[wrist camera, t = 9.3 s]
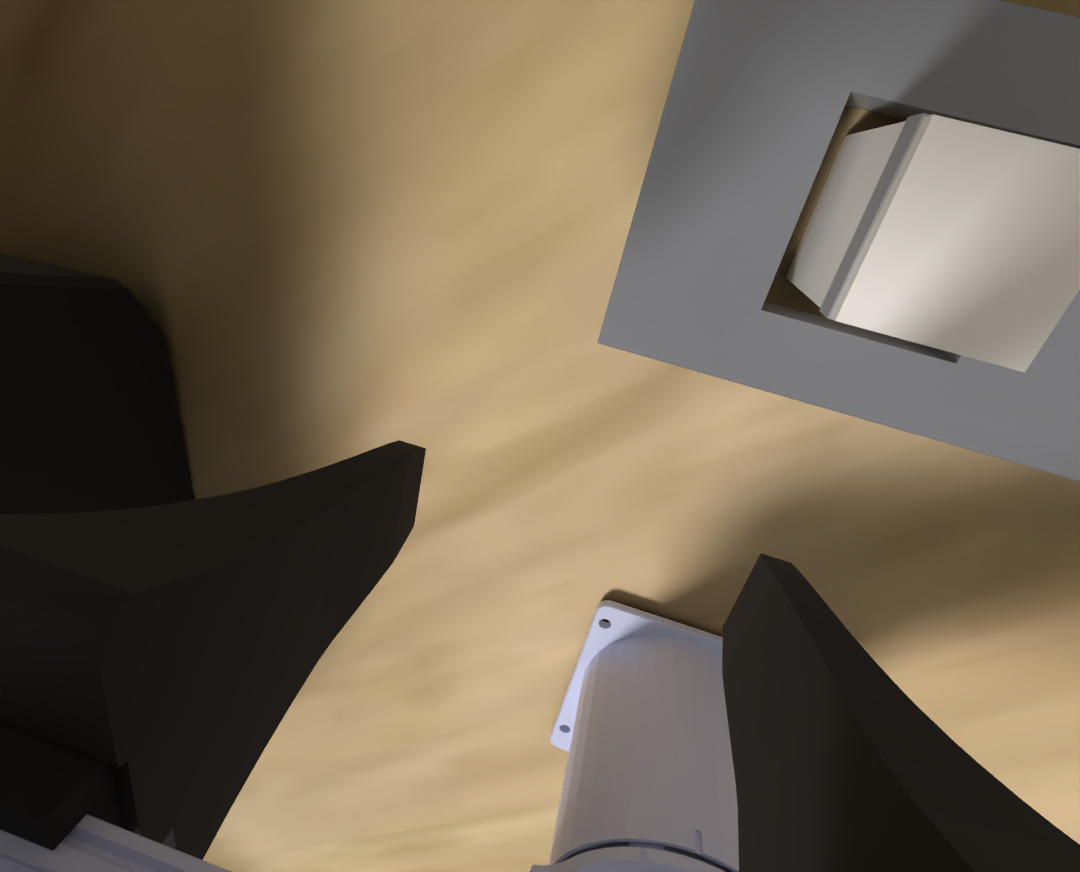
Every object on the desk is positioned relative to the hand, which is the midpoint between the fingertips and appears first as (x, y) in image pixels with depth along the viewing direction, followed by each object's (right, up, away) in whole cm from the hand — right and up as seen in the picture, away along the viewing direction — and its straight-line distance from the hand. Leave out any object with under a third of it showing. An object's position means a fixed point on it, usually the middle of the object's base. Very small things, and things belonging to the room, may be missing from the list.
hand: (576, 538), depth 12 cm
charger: (+9, +8, +5) cm, 13 cm away
